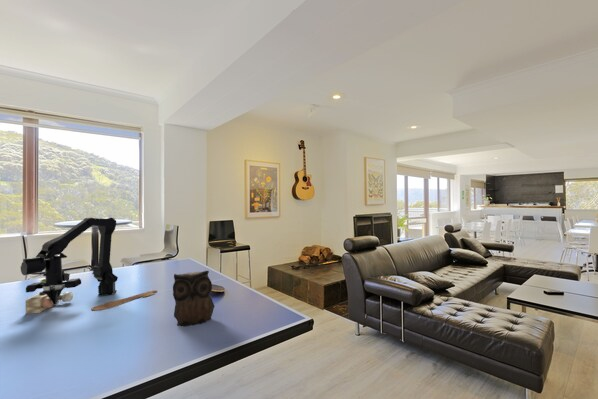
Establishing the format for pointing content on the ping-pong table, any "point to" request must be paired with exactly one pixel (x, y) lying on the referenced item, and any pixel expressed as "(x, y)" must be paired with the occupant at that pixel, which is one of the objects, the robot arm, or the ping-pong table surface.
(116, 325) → the ping-pong table surface
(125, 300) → the paddle
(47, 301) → the knob
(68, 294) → the knob
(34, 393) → the ping-pong table surface
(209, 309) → the owl
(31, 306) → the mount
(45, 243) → the robot arm
